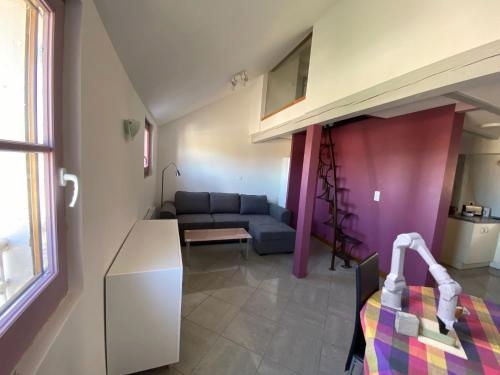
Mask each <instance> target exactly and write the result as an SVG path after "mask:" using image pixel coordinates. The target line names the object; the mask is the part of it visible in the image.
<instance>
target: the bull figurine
mask: <svg viewBox="0 0 500 375" xmlns="http://www.w3.org/2000/svg"><path fill="white" fill-rule="evenodd" d="M463 315H468V316H471V312H470V311H469V309H467V307H465V306H462V307H461V306H456V311H455V317H454V318H456V319H457V320H459V318H460V317H461V316H463ZM456 323H457V324H458V323H459V322H456Z"/></svg>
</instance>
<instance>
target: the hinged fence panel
mask: <svg viewBox="0 0 500 375" xmlns="http://www.w3.org/2000/svg"><path fill="white" fill-rule="evenodd" d="M418 334H419V335H423V336H426V337H429V338H431V339H434V340H437V341H440V342H442V343H445V344H448V345H451V346H453V347H455V346H456V340H457V339H456V338H455V337H449V336H446V335H444V334H441V333H438V332H435V331H432V330H429V329H426V328H423V326H421V325H419V327H418Z"/></svg>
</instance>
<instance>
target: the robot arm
mask: <svg viewBox="0 0 500 375" xmlns="http://www.w3.org/2000/svg"><path fill="white" fill-rule="evenodd" d="M406 248H409V249H411V250H414V251H416V252H418V254H419V255H420V256H421V257H422V259H423V260H424V262H425V263H426V264H427V265H428V266H429V267H428V271H429V272H430V274H431V276H432V277H433V278H434V280H435V282H436V283H437V284H438V286H437V287H438V291H439V293H440V294H439V301H438V308H437V312H436V316H435V317H436V320H437V323H438V324H439V332H440V333H441V334H444V335H447V334H448V332H449V330H451V331H452V329H453V328H454V327H455V324H454V323H455V322H456V323H457V322H458V321H459V319H456V318H454V317H455V311H456V307H457V304H458V298H459V294H461V293H462V291H463V290H462V287H461V285H460V284H459V283H458V282H457V281H456V280H454V279H452V277H451V276H450V274H449V273H448V272H447V271H448V270H447V269H446V268H445V267H444V266H442V265H441V264H439V263H437V261H436V260H435V258H434V256H433V255H432V253H431V252H430V250H429V249H428V247H427V245H426V242H425V240H424V239H423V237H422V236H421V234H419V232H408V233H401V234H399V235H397V237H396V239H395V240H394V242H393V245H392V254H391V255H392V256H391V265H390V272H389V274H388V275H387V276H386V280H385V281H384V286H382V290H381V295H380V304H381V306H385V307H388V308H391V309H394V310H396V311H399V312H403V311H402V296H403V290H404V289H406V288H407V283H406V278H405V276H404V275H403V272H404V263H405V253H406ZM458 323H459V322H458ZM454 329H455V328H454Z"/></svg>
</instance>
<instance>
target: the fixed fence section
mask: <svg viewBox="0 0 500 375" xmlns="http://www.w3.org/2000/svg"><path fill="white" fill-rule="evenodd" d="M414 315H416V317H417V319H418V320H419V325H421V321H420V317H421V316H420V312H419V310H415V312H414Z"/></svg>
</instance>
